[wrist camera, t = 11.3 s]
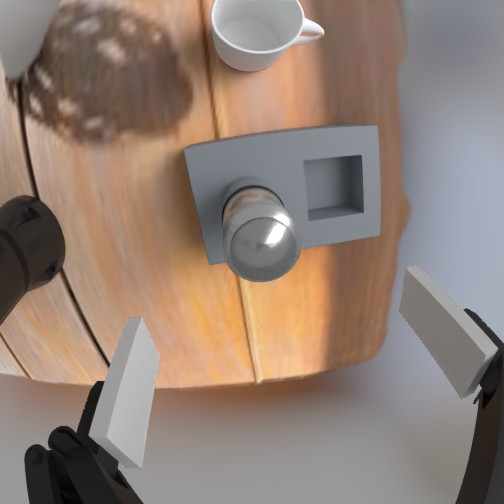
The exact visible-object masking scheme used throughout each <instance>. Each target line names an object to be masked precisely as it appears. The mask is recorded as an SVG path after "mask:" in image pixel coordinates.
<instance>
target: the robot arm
mask: <svg viewBox="0 0 504 504" xmlns="http://www.w3.org/2000/svg"><path fill="white" fill-rule="evenodd" d="M64 259H65V242H64V237H63V233H62V230H61V227H60V225H59V223H58V221H57V219H56V217H55V216H54V214H53V213H52V212H51V210H50V209H49V208H48V207H47V206H46V205H45V204H44V203H43V202H41V201H40V200H38V199H36V198H34V197H32V196H27V195H22V196H18V197H15V198H13V199H12V200H10V201H8V202H6V203H5V204H4V205H3V206H2V207H1V208H0V325H1V324H2V323H3V321H4V320H5V319H6V317H7V316H8V315H9V313H10V312H11V311H12V310H13V308H14V307H15V306H16V304H17V303H18V302H19V301H20V299H21V298H22V297H23V296H24V295H25V294H26V293H27V292H29V291H31V290H34V289H36V288H38V287H41V286H43V285H45V284H47V283H49V282H50V281H51V280H52V279H53V278H54V277H55V276H56V275H57V274H58V272H59V271H60V270H61V268H62V266H63V263H64ZM399 312H400V313H401V314H402V316H403V317H404V318H405V319H406V321H407V322H408V324H409V325H410V326H411V328H412V329H413V330H414V332H415V333H416V334H417V336H418V337H419V338H420V340H421V341H422V342H423V344H424V345H425V346H426V348H427V349H428V351H429V352H430V354H431V355H432V356H433V358H434V359H435V361H436V362H437V363H438V365H439V366H440V368H441V369H442V371H443V372H444V374H445V375H446V377H447V378H448V380H449V381H450V383H451V384H452V386H453V387H454V389H455V390H456V392H457V393H458V395H459V396H460V398H461V399H463V398H465V397H467V396H468V395H470V394H472V393H474V391H475V389H476V388H477V386H478V384H480V386H481V387H482V389H481V390H480V392H479V394H478V395H477V397H476V398H475V400H474V403H473V404H475V403H476V402H477V400H478V399H479V403H478V412H477V419H476V425H475V431H474V437H473V442H472V447H471V451H470V456H469V460H468V464H467V468H466V472H465V475H464V479H463V482H462V485H461V489H460V492H459V495H458V498H457V501H456V504H504V343H503V342H502V341H501V340H500V339H499V338H498V337H497V335H496V334H495V333H494V332H493V331H492V330H491V329H490V328H489V327H487V325H486V324H485V323H484V322H482V319H481V318H480V317H479V316H478V315H477V314H476V313H474V312H472V311H471V310H469V309H467V308H466V309H464V310H463V309H462V308H461V307H460V306H459V305H457V303H456V302H455V301H454V300H453V299H452V298H451V297H450V296H449V295H448V294H447V293H446V292H445V291H444V290H443V289H442V288H441V287H440V286H439V285H438V284H437V283H435V282H434V281H433V280H432V279H431V278H430V277H429V276H428V275H427V274H426V273H425V272H424V271H423V270H422V269H421V268H419V267H418V266H413V267H409V268H406V269H405V276H404V284H403V291H402V297H401V303H400V309H399ZM159 362H160V355H159V353H158V351H157V349H156V347H155V344H154V342H153V340H152V338H151V336H150V334H149V332H148V330H147V327H146V325H145V323H144V321H143V318H142V317H137V318H128V320H127V322H126V325H125V327H124V330H123V332H122V335H121V338H120V340H119V343H118V346H117V348H116V351H115V354H114V357H113V359H112V362H111V365H110V368H109V371H108V374H107V377H106V379H105V381H97V382H96V383H95V385H94V386H93V387H92V389H91V390H90V393H89V396H88V398H87V401H86V405H85V409H84V410H83V414H82V417H81V420H80V423H79V426H78V429H77V433H76V432H75V431H74V430H73V429H71V428H70V427H68V426H60V427H57V428H56V429H55V430H53V431H52V433H51V434H50V436H49V439H48V446H49V448H50V449H51V450H46V449H45V448H44V447H43V446H41V445H39V444H35V445H32V446H31V447H29V448H28V450H27V451H26V453H25V459H24V461H25V473H26V482H27V490H28V497H29V503H30V504H143V502H142V501H141V500H140V498H139V497H138V496H137V494H136V493H135V492H134V490H133V489H132V487H131V486H130V485H129V483H128V482H127V480H126V479H125V477H124V476H123V474H122V473H121V472H120V471H119V469H118V468H117V467H118V462H119V463H121V464H122V465H123V466H124V467H126V468H138V469H142V465H143V457H144V450H145V443H146V436H147V429H148V423H149V416H150V411H151V404H152V398H153V393H154V388H155V382H156V377H157V372H158V367H159Z"/></svg>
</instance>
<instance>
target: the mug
mask: <svg viewBox="0 0 504 504" xmlns="http://www.w3.org/2000/svg"><path fill="white" fill-rule="evenodd" d="M210 20H211V27H212V33H213V40H214V45H215V49H216V52H217V54H218V56H219V57H220V58H221V60H222V61H223V62H224V63H226V64H227V65H229V66H230V67H232V68H234V69H237V70H240V71H247V72H253V71H260V70H263V69H266V68H268V67H270V66H271V65H273V64H274V63H275V62H277V61H278V60H279V59H280V57H281V56H282V55H283V54H284V53H285V52H286V51H287V50H288V48H289V47H291V46H297V45H302V44H306V43H310V42H312V41H315V40H317V39H319V38H321V37H322V36H323V35H324V30H323V29H322V27H320V26H319V25H318V24H316V23H314V22H312V21H310V20H308V19H306V18H304V13H303V9H302V7H301V5H300V3H299V2H298V0H215V1H214V3H213V5H212V8H211V12H210ZM301 33H316V34H319V35H317V36H313V37H304V36H300V34H301Z"/></svg>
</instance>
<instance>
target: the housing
mask: <svg viewBox="0 0 504 504" xmlns="http://www.w3.org/2000/svg"><path fill="white" fill-rule="evenodd" d="M184 153H185V158H186V163H187V168H188V173H189V178H190V183H191V187H192V192H193V197H194V201H195V206H196V210H197V215H198V219H199V223H200V228H201V232H202V236H203V241H204V245H205V249H206V253H207V257H208V261H209V265H214V264H220V263H225V262H226V261H225V258H224V254H223V224H222V209H223V206H224V195H225V192H226V190H227V188H228V186H229V185H230V184H231V183H232V182H233V181H235V180H236V179H238V178H241V177H244V176H255V177H259V178H261V179H263V180H264V181H266V182H267V183H268V184H269V185H270V187H271V188H272V190H273V191H274V192H275V193H276V194H277V195H278V196H279V197H280V199H281V200H282V202H283V204H284V207H285V209H286V211H287V213H288V214H289V216H290V217H291V219H292V220H293V222H294V223H295V225H296V227H297V228H298V230H299V232H300V236H301V241H302V247H301V249H305V248H311V247H317V246H322V245H328V244H334V243H339V242H345V241H350V240H356V239H361V238H367V237H373V236H378V235H380V214H381V191H380V158H379V141H378V128H377V126H375V125H364V124H342V125H326V126H313V127H302V128H292V129H283V130H275V131H267V132H260V133H253V134H246V135H240V136H234V137H228V138H222V139H217V140H212V141H207V142H201V143H197V144H192V145H189V146H188V147H186V148H184Z"/></svg>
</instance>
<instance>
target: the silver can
mask: <svg viewBox="0 0 504 504" xmlns="http://www.w3.org/2000/svg"><path fill="white" fill-rule="evenodd" d="M222 224H223V254H224V258H225V261H226V263H227V265H228V266H229V268H230V269H231V270H232V271H233V272H234V273H235V274H236V275H238V276H239V277H241V278H243V279H246V280H249V281H253V282H267V281H272V280H275V279H278V278H280V277H282V276H283V275H285V274H286V273H287V272H289V271H290V270H291V269H292V268H293V266H294V265H295V264H296V262H297V260H298V258H299V256H300V252H301V247H302V241H301V236H300V232H299V230H298V228H297V227H296V225H295V223H294V222H293V220H292V219H291V217H290V216H289V214H288V213H287V211H286V209H285V207H284V204H283V202H282V200H281V199H280V197H279V196H278V195H277V194H276V193H275V192H274V191H273V190H272V188H271V187H270V185H269V184H268V183H267V182H266V181H264V180H263V179H261V178H259V177H255V176H244V177H241V178H238V179H236V180H235V181H233V182H232V183H231V184H230V185H229V186H228V188H227V190H226V192H225V195H224V206H223V209H222Z"/></svg>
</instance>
